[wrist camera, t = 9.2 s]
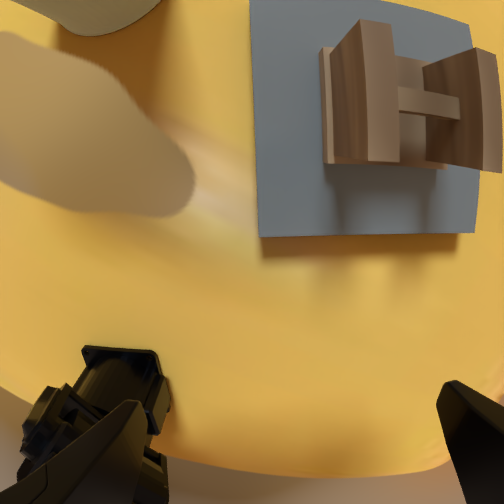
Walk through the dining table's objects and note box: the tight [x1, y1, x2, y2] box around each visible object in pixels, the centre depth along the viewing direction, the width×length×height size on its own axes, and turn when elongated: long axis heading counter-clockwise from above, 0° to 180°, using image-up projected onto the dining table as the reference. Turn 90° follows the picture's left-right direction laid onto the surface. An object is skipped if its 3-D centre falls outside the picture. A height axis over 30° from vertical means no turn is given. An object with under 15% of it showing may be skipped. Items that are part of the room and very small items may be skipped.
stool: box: [318, 19, 503, 173], centre depth 12 cm, size 7×6×6 cm
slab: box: [249, 0, 480, 237], centre depth 16 cm, size 14×14×2 cm
